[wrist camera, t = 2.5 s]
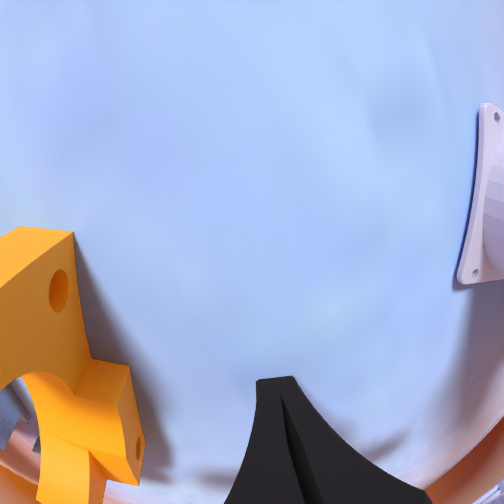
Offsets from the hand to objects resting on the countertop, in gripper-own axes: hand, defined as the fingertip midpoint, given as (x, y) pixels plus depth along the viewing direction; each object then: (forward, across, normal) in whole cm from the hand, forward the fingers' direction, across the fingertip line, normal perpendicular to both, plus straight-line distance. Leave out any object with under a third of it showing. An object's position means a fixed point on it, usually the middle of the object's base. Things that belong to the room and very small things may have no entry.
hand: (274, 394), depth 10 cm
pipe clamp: (+2, +8, -1) cm, 8 cm away
